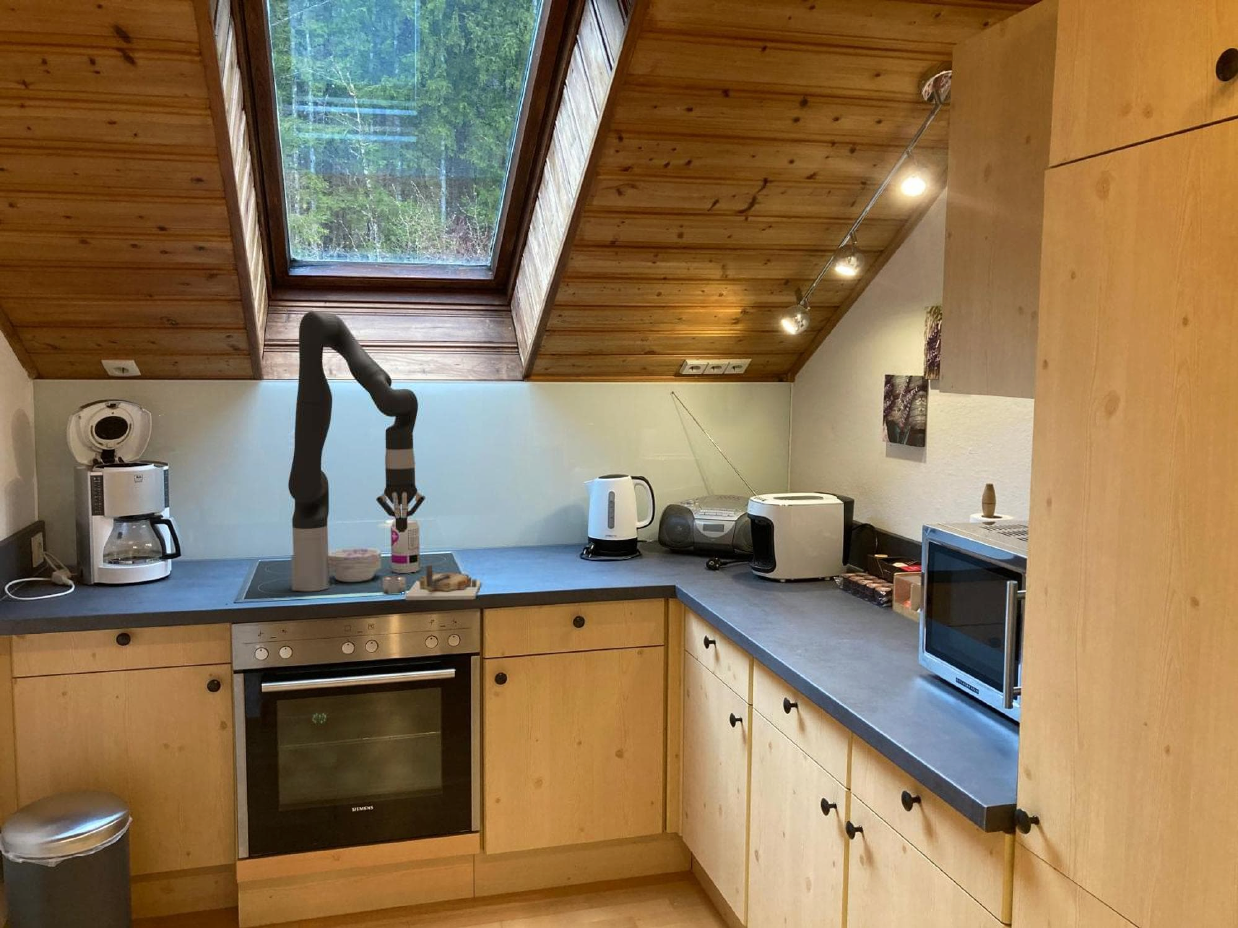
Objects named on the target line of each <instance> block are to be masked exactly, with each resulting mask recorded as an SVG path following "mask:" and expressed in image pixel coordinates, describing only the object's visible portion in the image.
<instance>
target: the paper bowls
mask: <svg viewBox="0 0 1238 928" xmlns="http://www.w3.org/2000/svg"><path fill="white" fill-rule="evenodd" d="M328 556H329V573H332V574H333V575H334V578H335V579H336V580H337V581H340V582H344V583H345V582H346V583H358V582H364V581H368V580H371V579H372V578H373V577H374V576H375V574H376V571H378V570H380V569H382V552H381V550H379V549H373V548H345V549H344V548H343V549H337V550H331V551H328Z"/></svg>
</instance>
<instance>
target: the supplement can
mask: <svg viewBox="0 0 1238 928" xmlns="http://www.w3.org/2000/svg"><path fill="white" fill-rule="evenodd" d="M407 524H408V528H407V530H405V532H398V530H396V520H393V521H392V523H391V525H390V554H391V556H390V557H391V558H390V559H391V571H392V572H393V573H394V572H398V573H397V574H399V573H409V574H411V573H410V572H415V573H417V572H419V570H420V569H421V558H420V557H421V556H420V555H421V554H420V553H421V552H420V551H421V550H420V548H421V547H420V525H419V523H418V521H417V520H415V519H407ZM416 571H417V572H416Z"/></svg>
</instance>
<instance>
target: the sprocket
mask: <svg viewBox="0 0 1238 928" xmlns="http://www.w3.org/2000/svg"><path fill="white" fill-rule="evenodd" d="M425 570H426V571H425V572H426V573H425V575H423V576H421V577H420V579H419V580H418V581H419V582H420V588H426V589H427V590H431V591H433V590H443V591H450V590H453V589H464V588H466V586H471V580H472V577H471V576H469V574H465V573H464V574H461V573H456V572H449V573H433V564H427V565H425Z"/></svg>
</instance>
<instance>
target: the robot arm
mask: <svg viewBox="0 0 1238 928" xmlns="http://www.w3.org/2000/svg"><path fill="white" fill-rule="evenodd" d="M324 348H330V349H332V350H333V351H334V352H336V353H338V355H340V356H341V357H342V358H343V359H344V360H345V362H346V364H347V366H348V369H349V372H350V373H351V374H350V375H352V377H353V378H354V380H355V381H356V382H357V383H358V384H359V385H360V386H361V387H362V388H363V389H364V390H365V391H366V392H367V393H368V394H369V396H370V398H371V399H372V401H373V403H374V405H375V406H376V408H377V409H378V411H379V412H381V413H382V414H383V415H385V416H386V417H390V418H394V421H393V424H392V425H391V426H389V427H387V428H386V429H385V454H384V458H385V459H384V465H385V466H384V467H385V468H384V469H385V472H384V473H385V488H384V491H383V493H382V494H381V495H379V496H377V497H376V502H377V503H378V505H380V507H381V508H382V509H383V510H384V511H385V512H386V513H387V515H388V516H390V517H393V518H395V521H396V530H398V532H405V530H407V528H408V524H407V520H408V517H411V516H413V515H414V514H415V512H417V510H418V509H419V508H420V506H421V505H422V504H423V502H424V501H425V500H426V496H425V495H422V494H421V493H419V492H418V488H417V485H416V468H415V467H416V461H415V459H416V458H415V453H414V436H413V435H414V434H413V432H414V430H415V426H416V422H417V421H416V420H417V416H418V412H419V411H418V410H419V403H418V398H417V395H416V394H415V393H414V392H413V391H412V390H411V389H408V388H398V389H393V388H392V387H391V386H392V383H393V381H392V378H391V376H390V375H389V374H388V372H386V371H385V370H384V369H383V368H382V367H381V366H380V365H379V364H378V363H377V362H376V360H374V359H373V358H372V357H371V356H370V354H368V353H367V352H366V350H365V349H364V347H362V345H361V344H360V343H359V341H358V340H357V338H356V337H355V336H354V334H352V332H351V331H350V329H349V328H348V326H347V324H345V322H344V321H343V320H342V319H341V318H340V317H339V316H337V315H336V314H334V313H328V312H323V311H322V312H321V311H314V310H313V311H308V312H306V313H305V314H304V315H303V316H302V317H301V320H300V322H299V327H298V353H299V354H298V355H299V358H298V360H299V361H298V362H299V364H298V365H299V366H298V367H299V368H298V385H297V394H296V396H297V397H296V405H295V418H294V419H295V422H294V450H293V451H294V452H293V457H292V464H291V468H290V472H289V477H288V485H287V487H288V488H287V489H288V491H289V493H290V496H291V498H292V499H294V511H293V515H292V518H291V522H292V523H291V524H292V525H291V527H292V548H293V549H292V553H293V554H292V555H291V556H290V557H291V559H290V561H291V563H290V564H291V567H290V568H291V587H292V588H291V589H292V591H298V592H318V591H323V590H327V589H329V588H330V571H329V556H328V552H329V533H328V532H329V531H328V530H329V529H328V527H329V526H328V518H329V513H330V512H329V511H330V495H329V494H330V490H329V489H330V488H329V487H330V486H329V485H330V484H329V480H328V476H327V475H326V474H325V472H324V471H323V470H322V457H323V456H322V455H323V450H324V446H325V443H326V440H327V437H328V433H329V429H330V426H331V421H332V410H333V394H332V391H331V390H332V389H331V388H330V385H329V382H328V380H327V376H326V374H325V372H324V365H323V363H324V362H323V361H324V360H323V358H324V357H323V356H324V355H323V354H324ZM388 500H389V502H390V503H391V504H392V505H393V508H392V506H390V504H389V503H388V502H387V501H388ZM413 500H415V502H416V503H414V505H413V506H412V507H411V508H410V510H409V505H410V503H411V502H412V501H413Z"/></svg>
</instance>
